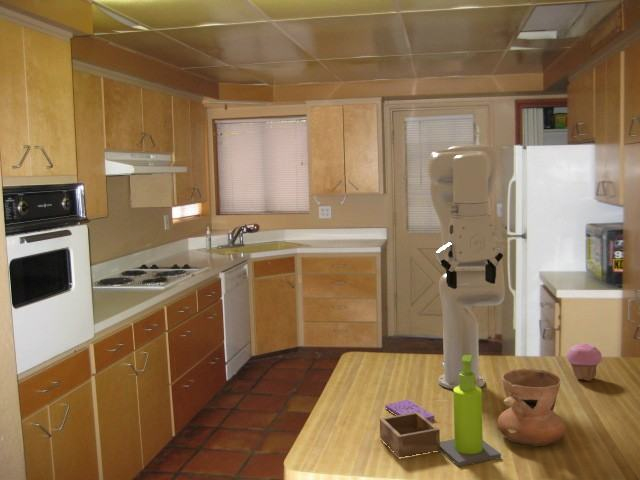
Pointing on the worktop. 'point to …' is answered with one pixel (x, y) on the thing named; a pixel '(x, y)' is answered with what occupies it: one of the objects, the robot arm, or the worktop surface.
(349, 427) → the worktop surface
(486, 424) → the worktop surface
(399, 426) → the holder
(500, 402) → the worktop surface
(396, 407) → the sponges
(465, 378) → the soap dispenser
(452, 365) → the robot arm
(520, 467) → the worktop surface
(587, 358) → the cupcake
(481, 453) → the mat
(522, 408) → the ceramic jug
